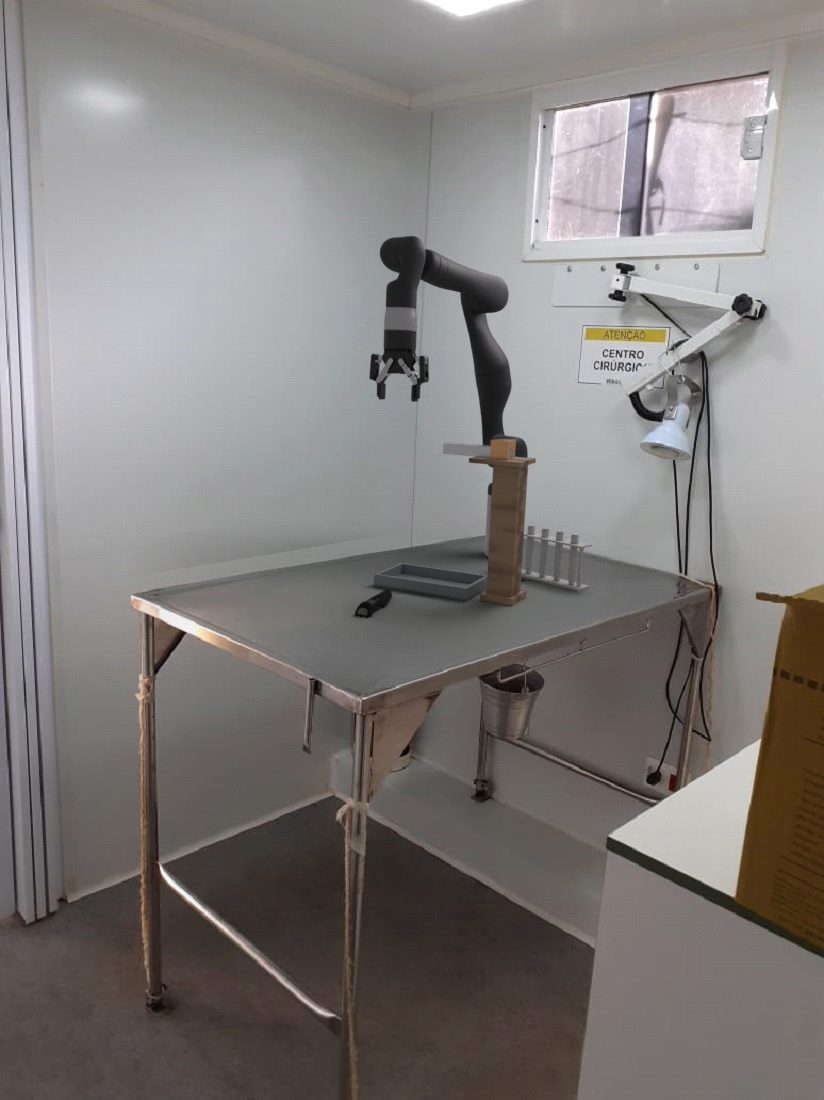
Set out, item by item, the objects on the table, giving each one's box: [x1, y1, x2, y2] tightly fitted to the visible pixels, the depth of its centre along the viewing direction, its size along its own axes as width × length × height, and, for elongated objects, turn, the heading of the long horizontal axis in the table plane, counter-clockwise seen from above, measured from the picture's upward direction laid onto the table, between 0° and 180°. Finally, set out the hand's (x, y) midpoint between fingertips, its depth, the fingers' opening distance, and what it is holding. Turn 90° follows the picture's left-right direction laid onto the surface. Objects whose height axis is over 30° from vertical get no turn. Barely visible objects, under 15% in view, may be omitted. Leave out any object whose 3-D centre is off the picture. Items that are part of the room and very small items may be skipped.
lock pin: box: [442, 439, 516, 460], centre depth 194 cm, size 5×16×4 cm, turn 64°
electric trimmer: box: [354, 588, 393, 619], centre depth 187 cm, size 4×16×3 cm, turn 160°
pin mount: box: [468, 456, 536, 606], centre depth 195 cm, size 10×12×32 cm
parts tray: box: [373, 562, 487, 602], centre depth 205 cm, size 14×24×3 cm, turn 64°
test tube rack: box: [521, 524, 593, 592], centre depth 215 cm, size 25×4×13 cm, turn 44°
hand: (398, 400), depth 201 cm, fingers open, 8 cm apart
